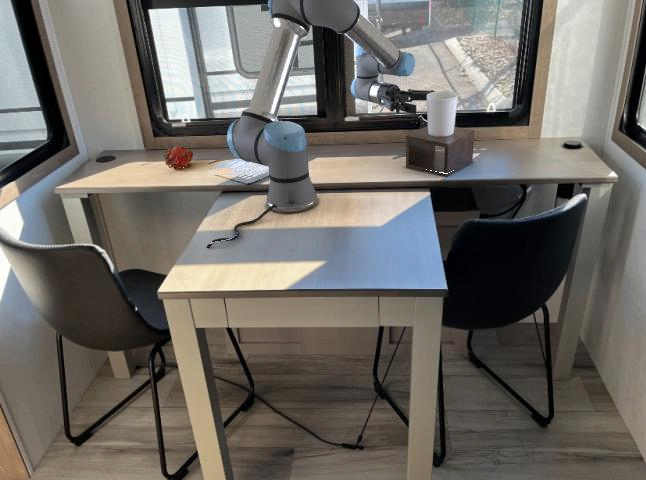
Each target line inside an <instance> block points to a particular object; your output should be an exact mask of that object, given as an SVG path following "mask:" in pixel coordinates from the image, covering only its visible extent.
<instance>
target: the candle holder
mask: <svg viewBox="0 0 646 480" xmlns="http://www.w3.org/2000/svg"><path fill="white" fill-rule="evenodd" d="M426 97H427V101H426V118H427V119H426V120H427V126H428V134H429V135H431V136H436V137H445V136H450V135H452V134H453V133H454V127H456V117H457V109H458V107H457V106H458V99H459V98H458V97H459V94H458V93H457V92H455V91H448V90H439V91H438V90H437V91H435V92H432V93H429V94H427V96H426Z"/></svg>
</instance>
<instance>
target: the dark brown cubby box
mask: <svg viewBox="0 0 646 480" xmlns="http://www.w3.org/2000/svg"><path fill="white" fill-rule="evenodd" d="M475 132H476V130H475V129H470V128H464V127H459V126H455V127H454V133H453V134H452V135H450V136H445V137H436V136H431V135H429V134H428V125H426V126H424V127H422V128H419V129H417V130H415V131H413V132H411V133H409V134H406V135H405V168H406V169H410V170H414V171H419V172H421V173H422V172H423V173H427V174H431V175H436V176H440V177H444V178H448V177H450V176H452V175H453V174H455V173H456V172H459V171H460V170H462V169H463V168H465V167H467V166H468V165H470V164H472V163H473V159H474V147H475V146H474V144H475V134H476V133H475ZM436 147H441V148H444V152H443V151H438V150H436ZM426 169H427V170H426ZM430 170H432V171H430ZM453 170H454V171H453ZM435 171H437V172H435ZM451 171H452V172H451ZM439 172H444V173H448V174H443V173H439ZM449 172H450V173H449Z"/></svg>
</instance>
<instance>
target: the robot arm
mask: <svg viewBox="0 0 646 480" xmlns="http://www.w3.org/2000/svg"><path fill="white" fill-rule="evenodd" d="M267 7H268V13H269V16H270V24H271V27H272V28H273V29H272V32H271V35H270V39H269V42H268V45H267V49H266V51H265V56H264V58H263V61H262V64H261V68H260V71H259V73H258V77H257V81H256V84H255V87H254V90H253V93H252V97H251V100H250V102H249V103H250V104H249V107H247V108H245V109H243V110H242V111H241V115H240V117H239V119H236V120H234V121H233V122H231V124H230V125H229V127H228V130H227V133H226V141H227V146H228V148H229V151H230V153H231V154H232V155H233V156H234V157H235V158H236V159H241V160H244V161H246V162H252V163H256V164H260V165H264V166H268V167H269V185H268V193H267V196H266V206H267V209H266V210H264V211H263V212H262V213H261V214H260V215H258V216H257V217H256V218H254V219H252V220H248V221H242V222H239V223H237V224H236V225H234V227H233V231H234V233H235V235H236V234H237V233H236V232H238V234H237V236H235V235H234V236H235V237H234V236H233V237H234V238H232V239H230V240H226V239H229V238H230V237H220V238H215V239H213V240H211V241H212V242H215V241H220V242H222V241H221V240H226V241H225V242H232V241H234V240H236V239H238V238H239V236H240V233H239V230H238V228H240V227H241V226H247V225H252V224H255V223H257V222H258V221H260V220H262V218H264V217H265V216H266V215H267V214H268V213H269V212H271V211H273V212H275V213H282V214H293V213H301V212H304V211H308V210H309V209H311V208H313V207H315V206H316V205H317V203H318V192H317V191H316V190H315V187H314V185H313V182H312V180H311V177H310V171H309V170H310V168H309V157H308V155H309V154H308V141H307V137H306V131H305V129H304V128H303V127H302V125H300V124H298V123H296V122H293V121H287V120H285V121H283V120H278V115H279V111H280V108H281V105H282V101H283V98H284V95H285V92H286V89H287V87H288V83H289V82H288V81H289V79H290V77H291V76H290V75H291V72H292V70H293V66H294V63H295V60H296V57H297V54H298V52H299V51H298V50H299V47H300V44H301V41H302V40H303V39H306V38H307V37H308V36H309V33H310V30H311V27H312V26H313V27H314V26H315V27H324V28H328V29H331V30H333V31H335V33H337V34H340V35H345V36H346V37H347V38H348V39H350V40H351V41H352V42H353V43H354V44H355V45H356V46H355V71H356V77H355V78H354V79H353V80H352V81H351V85H350V92H351V95H352V96H353V97H354V98H356V99H358V100H360V101H363V102H368V103H373V104H376V105H378V106H380V107H381V106H384V107H385V108H386V109H388V111H390V112H391V113H392V112H395V113H396V114H399V113H400V112H405V113H408V114H411V115H417V104H414V103H412V102H413V101H414V102H415V101H417V102H418V101H426V102H427V97H426V96H427V94H429V93H432V92H436V90H433V89H431V90H424V89H423V90H422V89H413V88H409V89H407V90H404V89H403V90H402V89H401V88H400V87H399V86H398V85H397V84H394V83H389V82H386V81H381V80H379V79H378V77H379V75H388V76H394V77H399V78H400V77H409V76H411V75H412V74H413V73H414V70H415V66H416V58H415V56H414V54H413V53H411V52H407V51H401V50H400V49H399V48H398V47H397V46H396V45H395V44H394V43H393V42H391V40H390V39H389V38H388V37H386V35H384V34H383V32H382V31H380V30H379V29H378V28H377V27H376V26H375V25H374V23H372V22H371V21H370V20H369V19H368V17H366V16H365V15H364V14H363V13H362V12H361V8H360V6H359V4H358V3H357V2H356V1H355V0H267ZM220 242H219V243H220ZM214 244H215V243H213V244H209V243H208V244H207V245H206V247H205V249H206V248H208V249H210V248H211V247H212V245H214ZM208 249H207V250H208Z"/></svg>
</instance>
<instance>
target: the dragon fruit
mask: <svg viewBox="0 0 646 480" xmlns="http://www.w3.org/2000/svg"><path fill="white" fill-rule="evenodd" d="M164 153H165V154H164V163H165V165H166V166H167V167H168V168H169V169H172V168H173V169H174V170H178V168H179V169H182V170H183V169H185V168H186V167H190V166H191V164H192V163H191V162H192V160H193V158H194V153H193V151H191V150H190V149H189V148H188V147H184V146H183V145H181V144H180V145H179V146H178V147H177V146H176V145H174V146H173V147H172V148H167V149H166V151H165V152H164ZM185 165H186V166H185ZM183 167H184V168H183Z"/></svg>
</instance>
